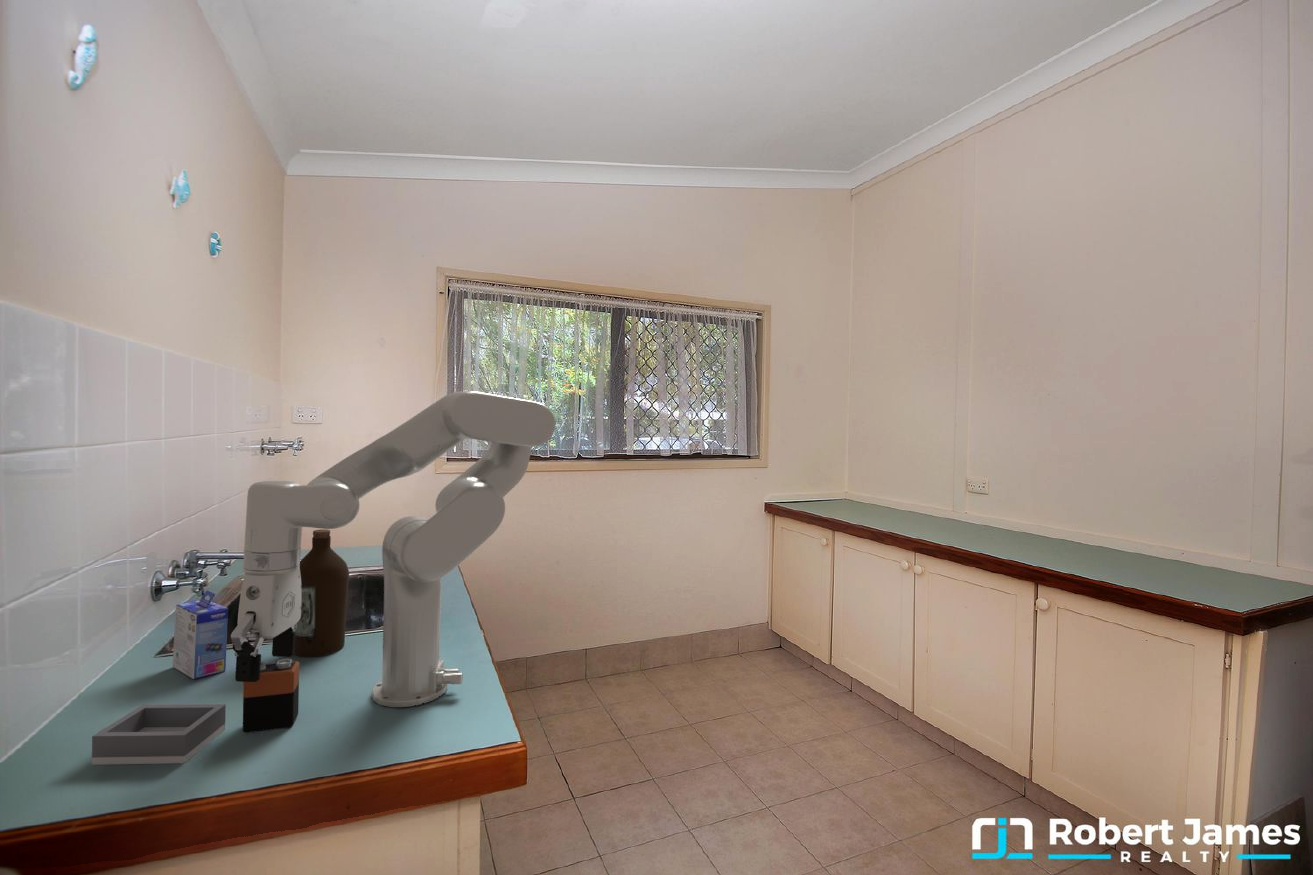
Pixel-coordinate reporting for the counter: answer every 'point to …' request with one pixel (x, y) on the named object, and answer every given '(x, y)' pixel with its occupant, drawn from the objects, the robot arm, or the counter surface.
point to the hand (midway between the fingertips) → (265, 667)
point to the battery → (272, 697)
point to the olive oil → (322, 599)
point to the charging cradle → (159, 734)
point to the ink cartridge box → (200, 637)
